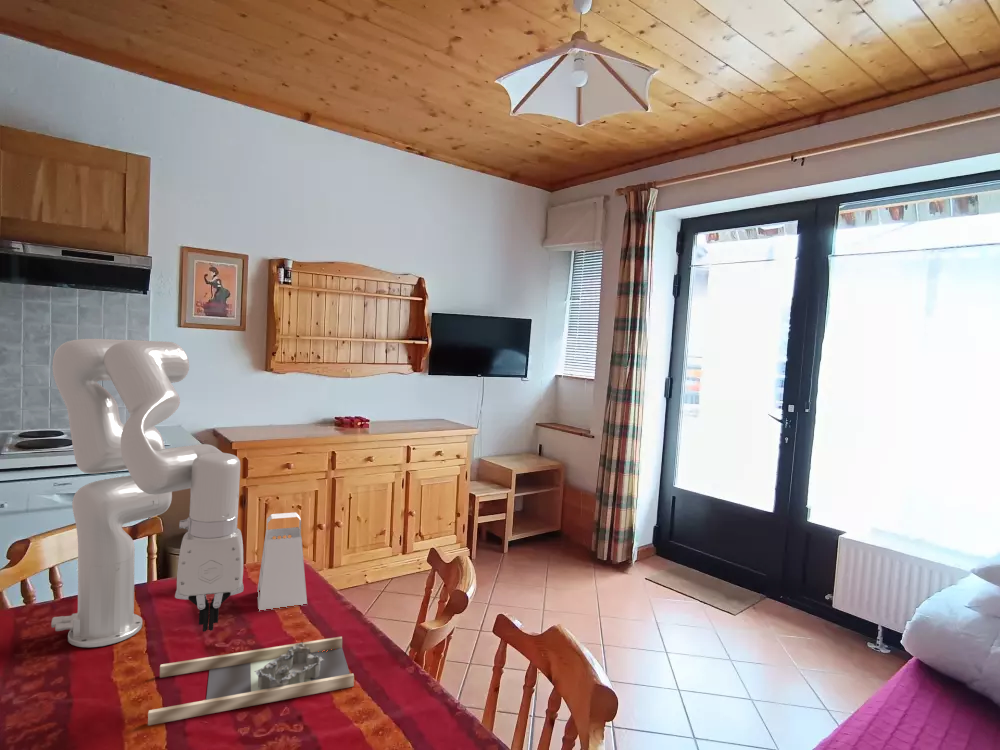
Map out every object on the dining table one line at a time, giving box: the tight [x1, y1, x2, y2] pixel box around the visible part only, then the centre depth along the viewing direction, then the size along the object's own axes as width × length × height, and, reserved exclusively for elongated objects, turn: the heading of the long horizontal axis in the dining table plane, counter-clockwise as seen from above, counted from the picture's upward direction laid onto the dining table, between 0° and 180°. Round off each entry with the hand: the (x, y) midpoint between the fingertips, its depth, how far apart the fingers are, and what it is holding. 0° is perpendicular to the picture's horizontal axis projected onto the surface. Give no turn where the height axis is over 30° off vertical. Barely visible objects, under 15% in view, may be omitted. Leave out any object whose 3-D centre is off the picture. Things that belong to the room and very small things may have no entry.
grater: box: [256, 512, 308, 612], centre depth 137 cm, size 10×10×20 cm
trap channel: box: [147, 636, 355, 726], centre depth 105 cm, size 32×15×2 cm, turn 114°
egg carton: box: [255, 641, 323, 689], centre depth 105 cm, size 11×8×4 cm
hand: (208, 626), depth 102 cm, fingers closed
